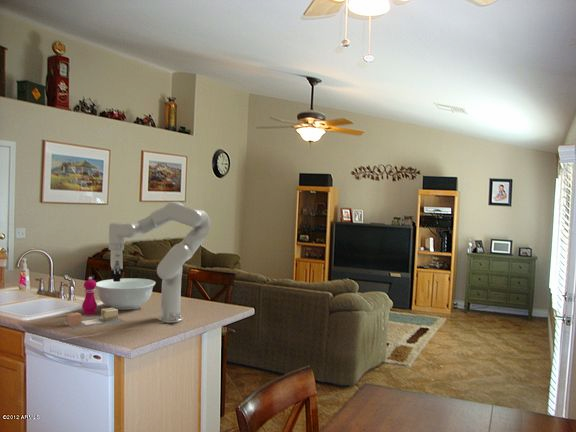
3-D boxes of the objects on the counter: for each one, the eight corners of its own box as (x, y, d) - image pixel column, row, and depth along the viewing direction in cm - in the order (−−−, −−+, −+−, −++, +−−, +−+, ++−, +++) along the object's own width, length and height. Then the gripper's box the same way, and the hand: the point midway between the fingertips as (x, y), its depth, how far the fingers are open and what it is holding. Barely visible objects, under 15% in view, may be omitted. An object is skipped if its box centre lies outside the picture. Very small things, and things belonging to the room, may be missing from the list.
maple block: (117, 319, 240) (118, 309, 240) (105, 321, 236) (106, 311, 236) (113, 317, 244) (113, 307, 244) (101, 319, 240) (101, 309, 240)
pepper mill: (87, 317, 247) (88, 278, 247) (78, 315, 251) (79, 276, 251) (99, 314, 253) (100, 276, 253) (91, 312, 257) (91, 275, 257)
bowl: (80, 311, 259) (81, 284, 258) (118, 300, 290) (119, 276, 289) (132, 317, 249) (133, 289, 249) (166, 305, 280) (166, 280, 280)
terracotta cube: (81, 324, 229) (81, 314, 228) (70, 326, 225) (70, 315, 225) (77, 322, 232) (77, 312, 232) (66, 324, 229) (66, 313, 229)
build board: (125, 323, 238) (125, 320, 238) (72, 330, 222) (72, 328, 222) (113, 317, 249) (113, 315, 249) (62, 324, 232) (62, 322, 232)
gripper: (126, 248, 242) (125, 282, 242) (121, 245, 257) (120, 276, 258) (110, 248, 238) (109, 283, 239) (106, 245, 254) (105, 277, 254)
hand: (115, 279), depth 248 cm, fingers open, 9 cm apart
